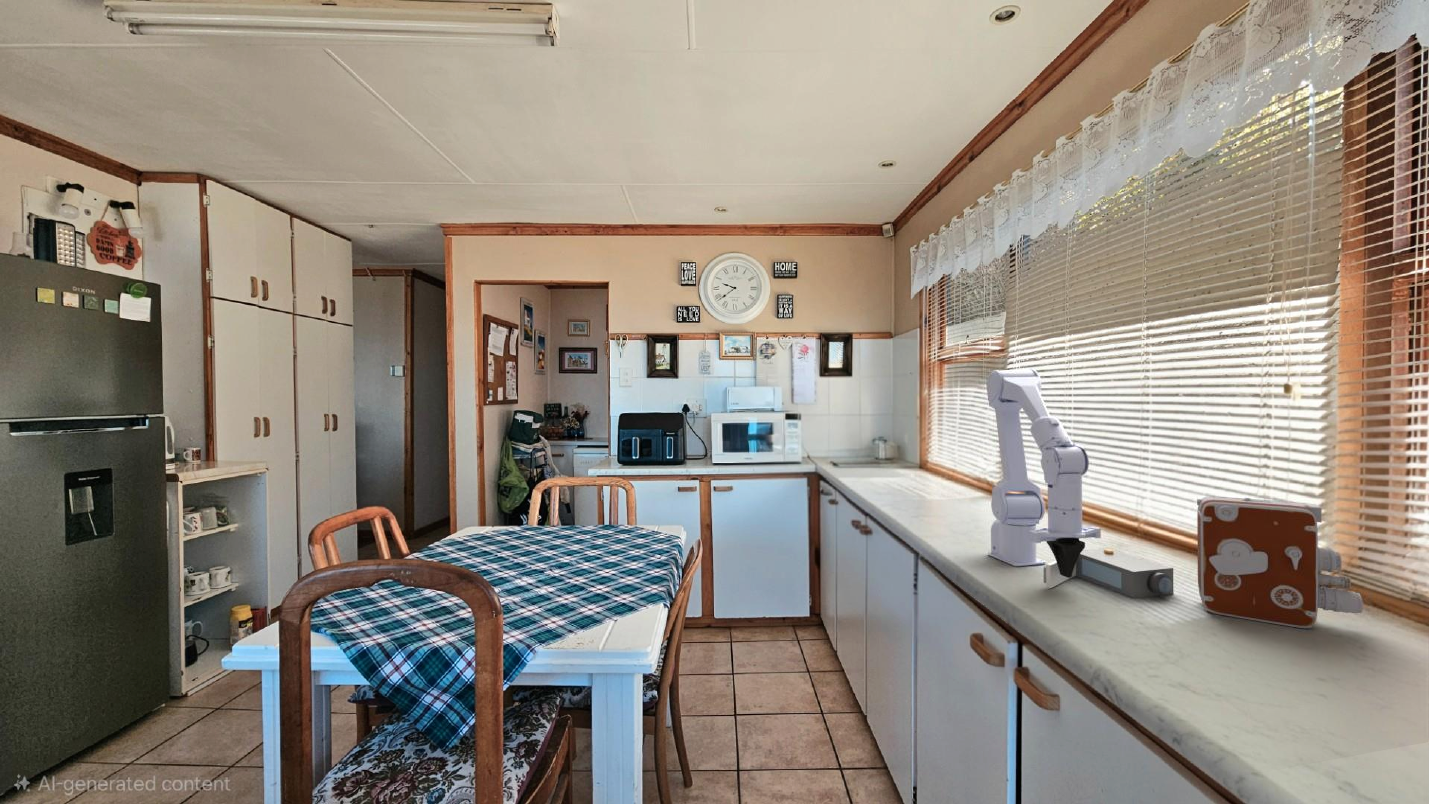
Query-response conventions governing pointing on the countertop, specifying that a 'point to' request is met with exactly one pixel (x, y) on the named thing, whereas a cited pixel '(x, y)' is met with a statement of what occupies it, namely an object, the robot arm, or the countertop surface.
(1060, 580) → the side door
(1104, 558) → the camera body
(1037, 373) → the robot arm
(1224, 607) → the cine camera
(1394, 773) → the countertop surface
